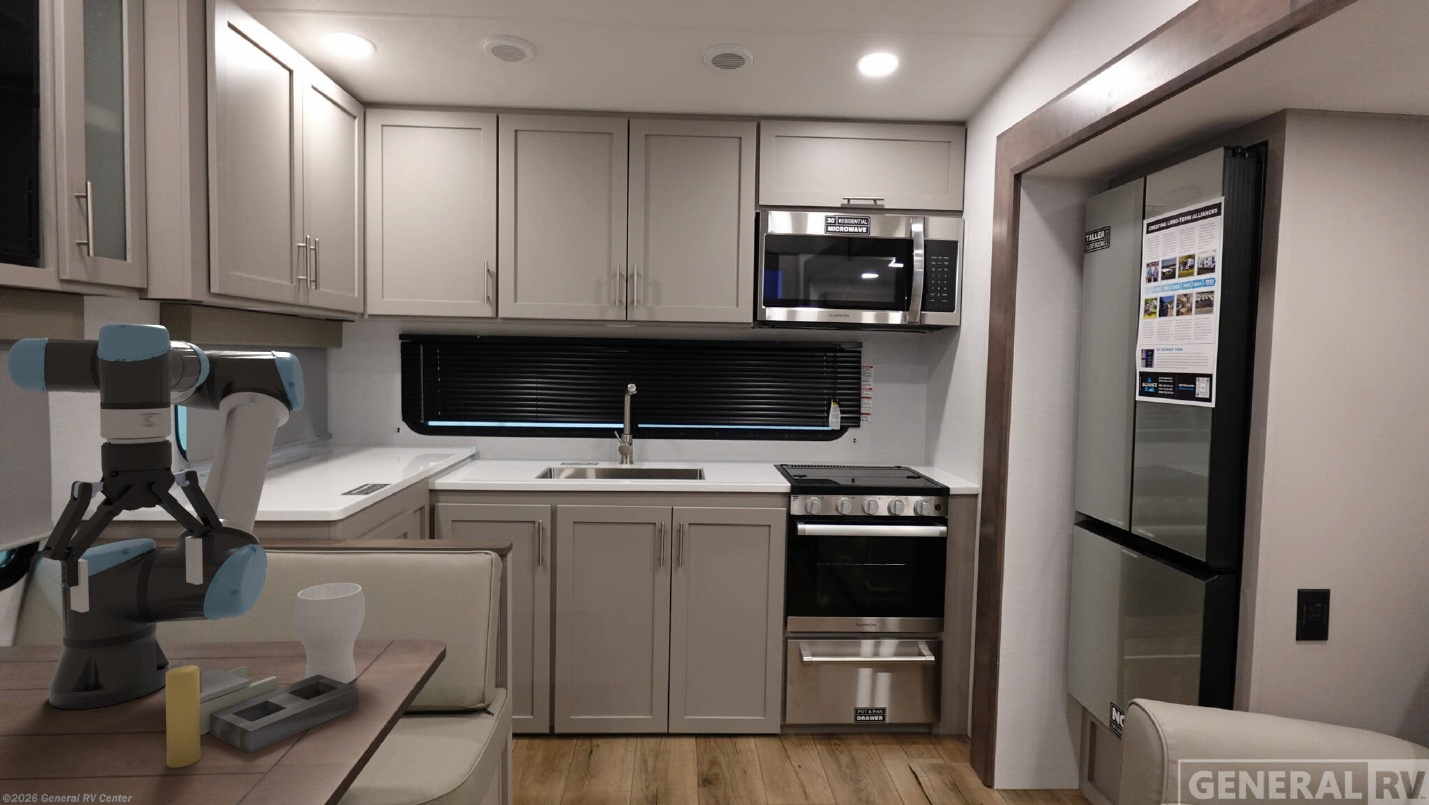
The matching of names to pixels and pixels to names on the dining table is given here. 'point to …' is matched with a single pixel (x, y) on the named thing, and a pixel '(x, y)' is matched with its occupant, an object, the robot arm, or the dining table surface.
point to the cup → (329, 628)
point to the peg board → (283, 712)
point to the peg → (183, 716)
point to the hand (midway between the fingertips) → (140, 595)
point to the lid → (217, 682)
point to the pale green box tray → (234, 696)
